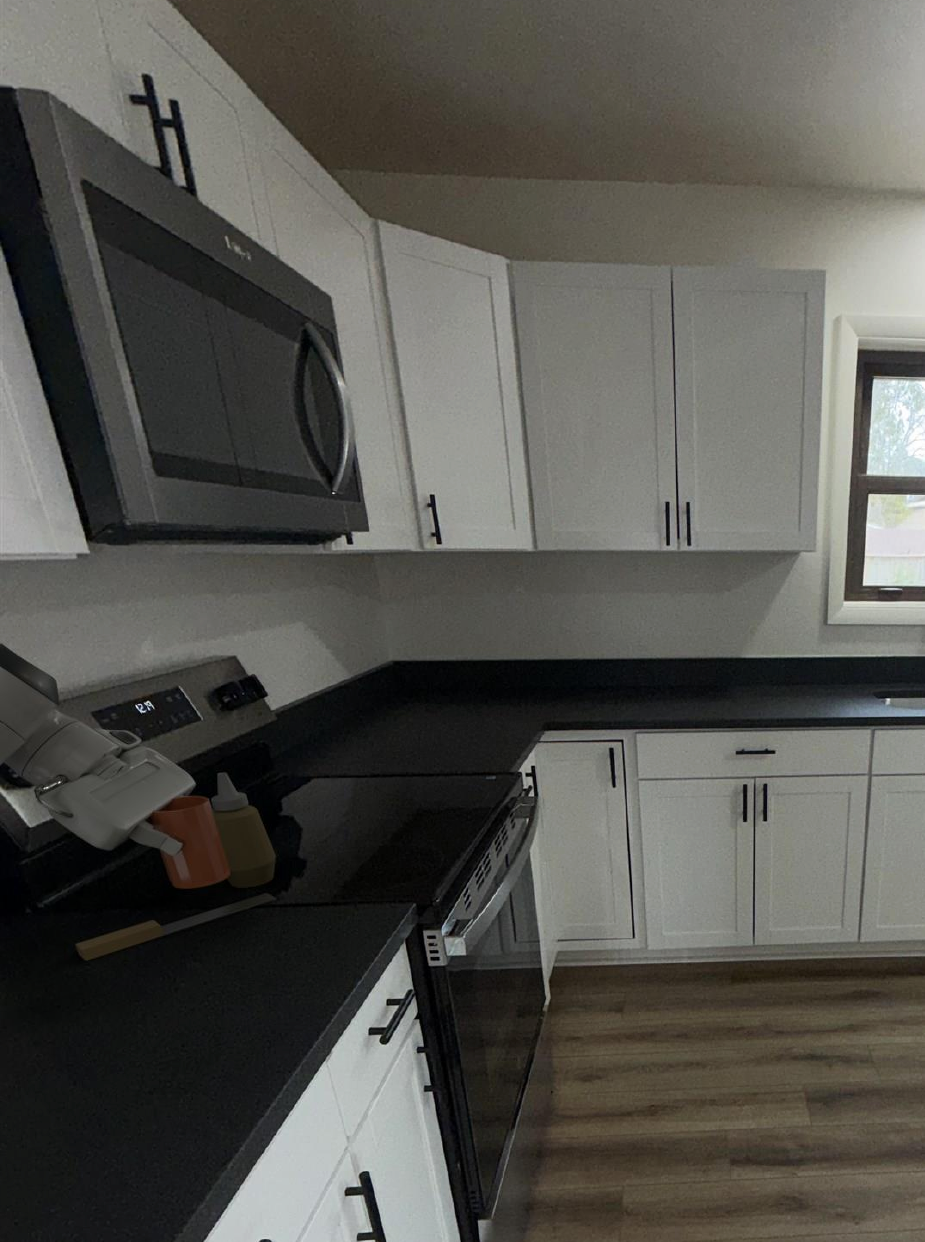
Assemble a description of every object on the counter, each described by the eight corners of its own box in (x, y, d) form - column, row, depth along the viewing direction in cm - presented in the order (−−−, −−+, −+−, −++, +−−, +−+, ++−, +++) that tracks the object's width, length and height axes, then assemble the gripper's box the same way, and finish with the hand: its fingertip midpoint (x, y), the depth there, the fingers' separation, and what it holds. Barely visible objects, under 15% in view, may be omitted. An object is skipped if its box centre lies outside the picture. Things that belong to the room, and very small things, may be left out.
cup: (183, 893, 97) (157, 815, 93) (163, 880, 101) (138, 805, 97) (239, 876, 102) (217, 802, 97) (218, 864, 105) (196, 792, 101)
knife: (87, 963, 103) (82, 950, 103) (79, 956, 105) (74, 943, 104) (277, 901, 121) (273, 889, 120) (267, 896, 122) (264, 884, 122)
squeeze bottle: (284, 884, 126) (254, 775, 119) (225, 896, 122) (191, 784, 115) (278, 868, 132) (249, 763, 125) (222, 879, 128) (189, 771, 121)
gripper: (40, 770, 84) (170, 850, 89) (136, 727, 102) (239, 796, 108) (8, 813, 85) (139, 889, 90) (109, 763, 103) (213, 829, 109)
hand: (194, 838), depth 99 cm, fingers closed on cup, 6 cm apart
